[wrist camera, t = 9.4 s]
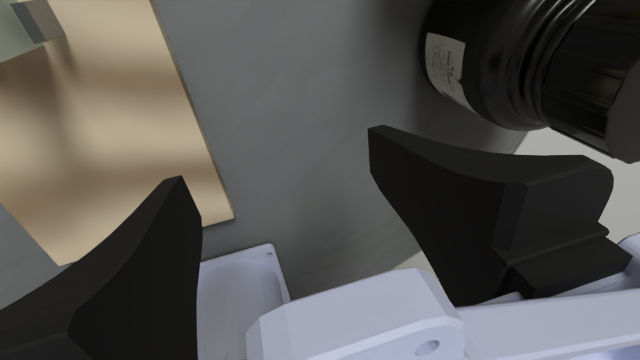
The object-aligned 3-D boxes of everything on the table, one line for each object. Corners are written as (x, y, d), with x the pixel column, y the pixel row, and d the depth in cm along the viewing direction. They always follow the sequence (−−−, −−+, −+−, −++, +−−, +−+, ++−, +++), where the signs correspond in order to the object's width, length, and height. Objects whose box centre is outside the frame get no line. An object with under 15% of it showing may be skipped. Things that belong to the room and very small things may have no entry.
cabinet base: (233, 209, 24) (234, 218, 23) (64, 255, 22) (58, 265, 22) (55, -254, 11) (42, -271, 11) (-357, -223, 10) (-409, -241, 9)
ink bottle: (386, 66, 21) (528, 147, 11) (468, -88, 18) (776, -162, 8) (482, 115, 25) (647, 205, 15) (564, -1, 22) (843, 21, 12)
